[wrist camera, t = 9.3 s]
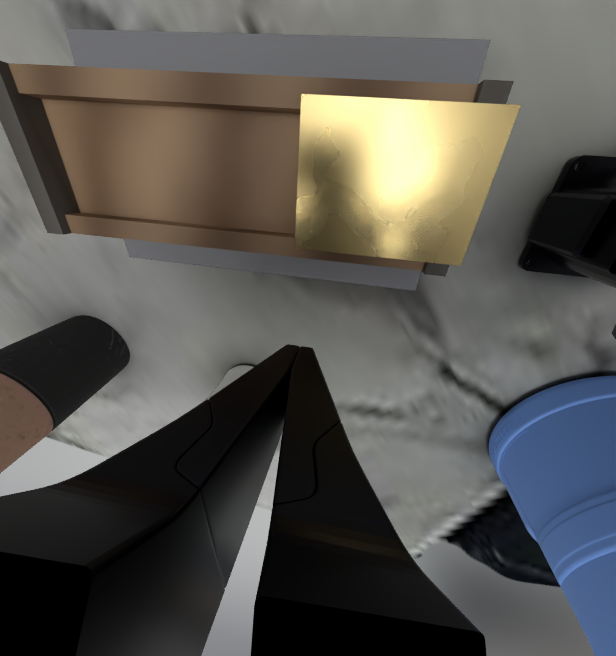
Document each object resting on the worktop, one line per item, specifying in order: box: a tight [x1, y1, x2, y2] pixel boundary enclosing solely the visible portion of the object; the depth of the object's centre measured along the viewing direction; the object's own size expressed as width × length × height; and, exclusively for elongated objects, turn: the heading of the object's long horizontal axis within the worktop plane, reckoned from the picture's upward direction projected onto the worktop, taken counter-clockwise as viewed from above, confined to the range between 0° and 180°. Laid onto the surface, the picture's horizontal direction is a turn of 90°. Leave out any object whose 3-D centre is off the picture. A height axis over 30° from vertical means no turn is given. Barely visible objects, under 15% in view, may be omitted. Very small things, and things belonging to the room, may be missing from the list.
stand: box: [66, 29, 490, 291], centre depth 16 cm, size 23×13×4 cm, turn 86°
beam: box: [0, 61, 514, 276], centre depth 13 cm, size 22×7×2 cm, turn 86°
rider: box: [295, 94, 521, 266], centre depth 10 cm, size 6×4×5 cm
